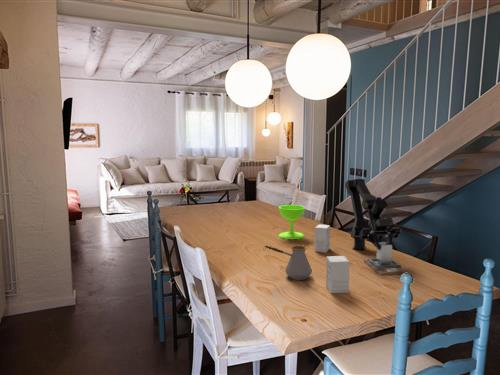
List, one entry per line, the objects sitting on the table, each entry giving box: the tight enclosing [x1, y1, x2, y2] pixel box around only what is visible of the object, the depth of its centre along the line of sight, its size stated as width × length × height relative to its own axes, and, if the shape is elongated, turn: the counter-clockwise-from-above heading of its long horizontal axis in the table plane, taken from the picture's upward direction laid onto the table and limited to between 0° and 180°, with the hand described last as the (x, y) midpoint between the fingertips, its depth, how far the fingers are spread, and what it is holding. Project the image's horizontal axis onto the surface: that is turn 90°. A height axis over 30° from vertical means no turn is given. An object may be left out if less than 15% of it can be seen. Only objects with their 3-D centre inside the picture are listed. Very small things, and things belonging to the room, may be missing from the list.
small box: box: [314, 223, 331, 253], centre depth 206 cm, size 8×6×13 cm
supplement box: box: [325, 255, 350, 294], centre depth 151 cm, size 7×7×13 cm
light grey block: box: [375, 241, 393, 265], centre depth 178 cm, size 5×5×9 cm
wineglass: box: [278, 204, 306, 240], centre depth 235 cm, size 16×16×18 cm
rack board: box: [363, 257, 409, 276], centre depth 177 cm, size 18×13×2 cm
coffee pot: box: [263, 245, 313, 281], centre depth 164 cm, size 21×12×15 cm, turn 104°
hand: (385, 249), depth 177 cm, fingers closed on light grey block, 5 cm apart
